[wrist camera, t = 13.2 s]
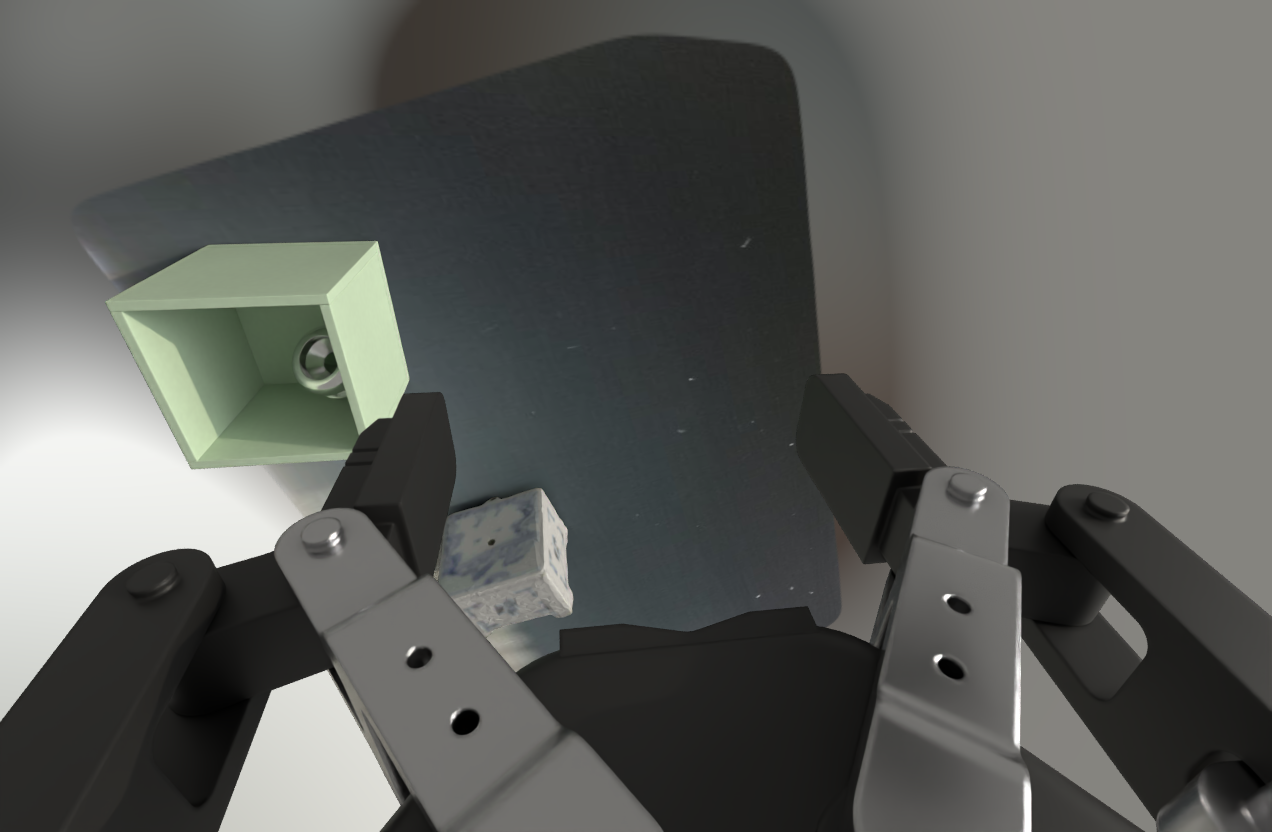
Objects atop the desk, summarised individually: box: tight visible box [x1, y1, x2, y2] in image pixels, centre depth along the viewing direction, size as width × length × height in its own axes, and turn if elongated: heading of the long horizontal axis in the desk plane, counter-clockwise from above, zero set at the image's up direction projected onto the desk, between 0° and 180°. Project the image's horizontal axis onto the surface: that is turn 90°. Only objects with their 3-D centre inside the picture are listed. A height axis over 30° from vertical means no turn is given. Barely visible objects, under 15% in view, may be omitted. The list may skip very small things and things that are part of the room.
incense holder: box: [438, 488, 573, 638], centre depth 51 cm, size 10×8×10 cm
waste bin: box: [105, 241, 409, 469], centre depth 38 cm, size 11×11×11 cm
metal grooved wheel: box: [292, 325, 348, 400], centre depth 40 cm, size 5×3×5 cm
